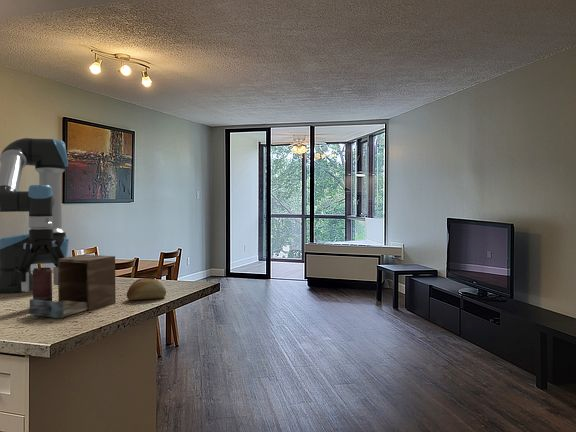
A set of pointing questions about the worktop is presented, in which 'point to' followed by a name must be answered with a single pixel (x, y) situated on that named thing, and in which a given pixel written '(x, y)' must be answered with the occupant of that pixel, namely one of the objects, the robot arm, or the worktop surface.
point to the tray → (56, 308)
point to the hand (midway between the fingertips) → (41, 288)
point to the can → (42, 284)
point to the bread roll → (146, 289)
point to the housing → (87, 280)
